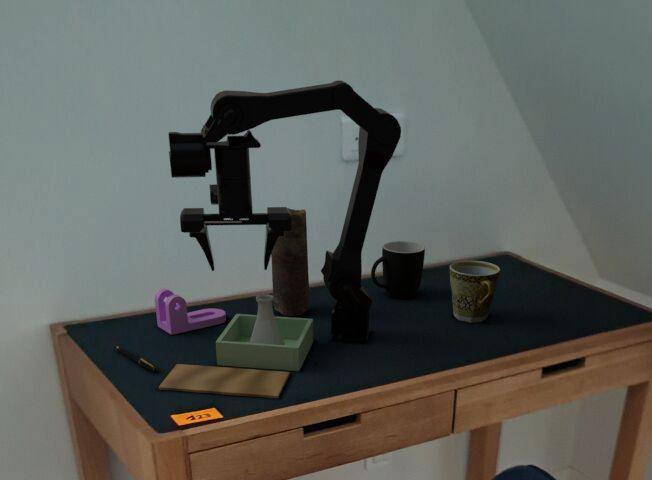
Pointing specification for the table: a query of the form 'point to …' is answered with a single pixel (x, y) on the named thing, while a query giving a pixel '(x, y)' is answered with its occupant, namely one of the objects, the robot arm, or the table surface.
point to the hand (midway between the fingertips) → (239, 269)
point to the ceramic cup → (473, 289)
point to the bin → (266, 356)
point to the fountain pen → (137, 359)
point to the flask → (266, 323)
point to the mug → (401, 268)
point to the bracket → (183, 314)
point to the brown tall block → (291, 268)
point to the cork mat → (225, 381)
